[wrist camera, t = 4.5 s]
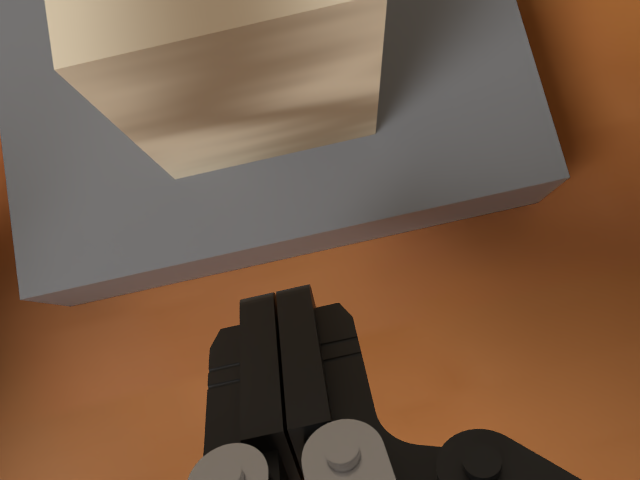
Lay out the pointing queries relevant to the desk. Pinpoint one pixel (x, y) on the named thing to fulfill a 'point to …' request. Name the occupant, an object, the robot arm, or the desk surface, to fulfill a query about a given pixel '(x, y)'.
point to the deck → (272, 161)
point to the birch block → (224, 73)
